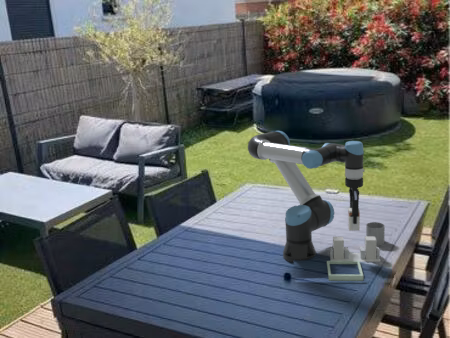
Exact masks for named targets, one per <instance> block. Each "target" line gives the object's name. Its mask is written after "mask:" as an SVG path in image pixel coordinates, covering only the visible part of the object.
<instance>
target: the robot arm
mask: <svg viewBox="0 0 450 338" xmlns="http://www.w3.org/2000/svg"><path fill="white" fill-rule="evenodd" d="M290 142H291V141H290V138H289V136H288V135H287V134H286V133H285V132H284V131H282V130H271V131H269V132H265V133H260V134H257V135H256V134H255V135H254V136H252V137H251V138H250V139H249V141H248V142H247V151H248V153H249V155H250V156H251V157H252V158H254V159H256V160H262V161H266V160H269V161H270V163H274V165H276V167H277V169H278V171H279V172H280V174H281V175H282V177H283V179H284V180H285V182H286V183H287V185H288V187H289V188H290V189H291V191H292V193H293V194H294V196H295V198H296V200H297V201H298V203H299V204H298V205H294V206H291V207H289V208H287V210H286V211H285V216H284V217H285V218H284V219H285V220H284V221H285V223H284V224H285V238H286V239H285V240H286V241H285V244H284V247H283V251H282V254H283V255H282V257H283V259H284V260H285V261H287V262H290V263H294V262H295V261H299V262H300V261H308V260H311V259H314V258H315V257H316V256H317V251H316V248H315V246H314V243H313V241H312V240H313V239H312V235H313V234H312V232H314V231H317V230H320V228H321V229H322V228H324V227H327V225H330V224H331V223H332V222H333V220H334V217H335V209H334V206H333V205H332V203H331V202H330V201H328V200H327V199H323V198H322V196H321V195H319V194H316V193H315V191H314V190H313V188H312V186H311V185H310V183H309V182H308V180H307V179H306V177H305V176H304V174H303V173H302V171H301V170H300V168H299V166H298V165H303V167H306V168H307V169H309V170H310V169H316V168H319V167H321V166H324V165H327V164H328V165H329V164H332V163H334V162H339V163H344V167H345V168H344V176H345V178H344V181H345V182H344V183H345V187H346V188H349V189H348V192H349V208H352V215H350V217H351V230H358V216H359V211H360V207H359V204H360V203H359V202H360V201H359V200H360V199H359V198H360V190H359V188H362V187H363V186H364V173H365V169H364V152H365V151H364V145H363V144H364V143H363V142H361V141H359V140H349V141H346V142H345V144H338V143H334V142H325V143H324V144H323V145H322V146H321V147H318V148H311V147H304V146H297V145H292V144H291V143H290Z"/></svg>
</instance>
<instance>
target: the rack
mask: <svg viewBox="0 0 450 338" xmlns="http://www.w3.org/2000/svg"><path fill="white" fill-rule="evenodd" d="M380 253H381V252H380V248H379V246H376V259H366V257H365V246H360V247H359V252H350V249H349V247H348V246H344V259H334V257H333V247H332V246H330V247H329V259H330V260H329V261H360V263H361V262H370V263H372V262H373V263H374V262H376V263H377V262H381V259H380Z"/></svg>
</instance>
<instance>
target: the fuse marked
mask: <svg viewBox="0 0 450 338" xmlns="http://www.w3.org/2000/svg"><path fill="white" fill-rule="evenodd" d="M347 214H348V215H347V216H348V217H347V221H348V224H347V226H348V230H349V231H350V232H351V231H352V232H353V231H354V232H355V231H360V226H361V225H360V222H361V221H360V220H361V219H360V217H361V216H360V215H361V213H360V210H359V216H358V230H351V217H350V215H352V208H350V207H348V208H347Z"/></svg>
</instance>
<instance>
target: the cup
mask: <svg viewBox="0 0 450 338" xmlns="http://www.w3.org/2000/svg"><path fill="white" fill-rule="evenodd" d="M365 225H366V228H365V230H366V231H365V232H366V233H365V236H375V238H376V246H382V245H384V244H385V227H386V226H385V224H384V223H382V222H377V221H375V222H374V221H373V222H368V223H366V224H365Z"/></svg>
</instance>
